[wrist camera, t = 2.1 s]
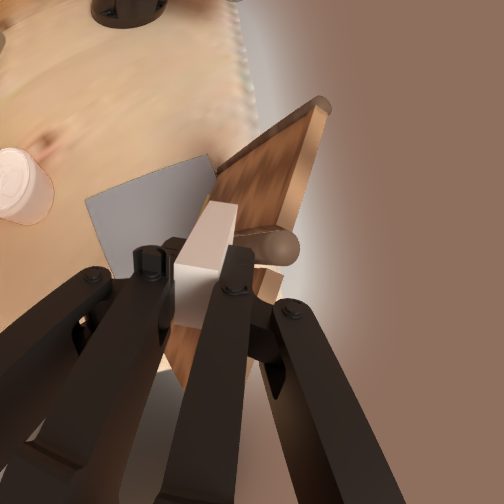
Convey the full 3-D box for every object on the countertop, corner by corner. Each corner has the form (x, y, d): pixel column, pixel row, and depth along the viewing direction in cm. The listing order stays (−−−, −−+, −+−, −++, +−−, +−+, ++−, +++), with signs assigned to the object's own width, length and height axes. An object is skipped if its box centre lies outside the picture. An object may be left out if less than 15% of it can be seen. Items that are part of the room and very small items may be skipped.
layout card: (85, 200, 36) (84, 199, 35) (206, 154, 44) (207, 153, 43) (139, 327, 39) (139, 328, 39) (252, 271, 47) (254, 271, 47)
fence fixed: (195, 261, 43) (293, 271, 20) (180, 255, 42) (264, 258, 19) (231, 170, 46) (342, 101, 22) (218, 163, 45) (321, 85, 21)
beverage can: (46, 231, 33) (20, 223, 23) (3, 219, 30) (-32, 208, 19) (61, 176, 34) (43, 149, 23) (18, 166, 31) (-10, 139, 20)
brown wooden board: (183, 260, 42) (266, 268, 19) (192, 263, 42) (284, 275, 20) (156, 339, 40) (207, 434, 17) (165, 342, 40) (225, 436, 18)
